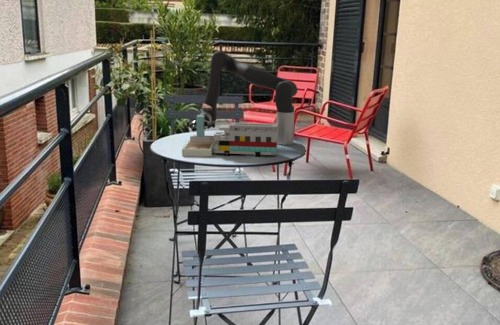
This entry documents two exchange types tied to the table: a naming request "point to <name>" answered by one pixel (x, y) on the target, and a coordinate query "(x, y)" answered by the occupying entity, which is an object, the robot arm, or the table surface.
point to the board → (199, 144)
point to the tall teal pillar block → (200, 131)
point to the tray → (197, 151)
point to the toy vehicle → (247, 139)
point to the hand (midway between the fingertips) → (199, 126)
